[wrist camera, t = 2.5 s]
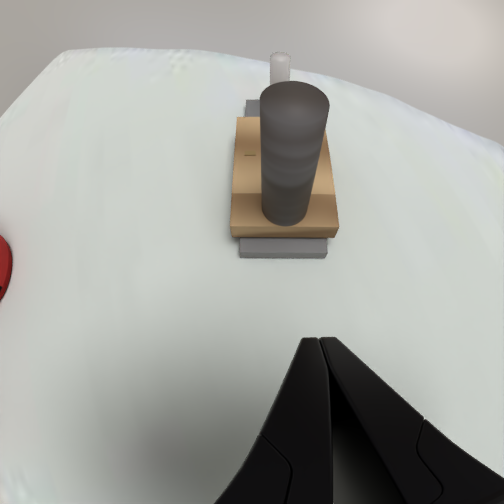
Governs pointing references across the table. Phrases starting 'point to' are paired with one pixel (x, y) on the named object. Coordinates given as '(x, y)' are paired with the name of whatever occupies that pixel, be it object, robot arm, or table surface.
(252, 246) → the rail
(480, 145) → the table surface
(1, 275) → the canned food
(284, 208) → the wooden base with post
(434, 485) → the robot arm
